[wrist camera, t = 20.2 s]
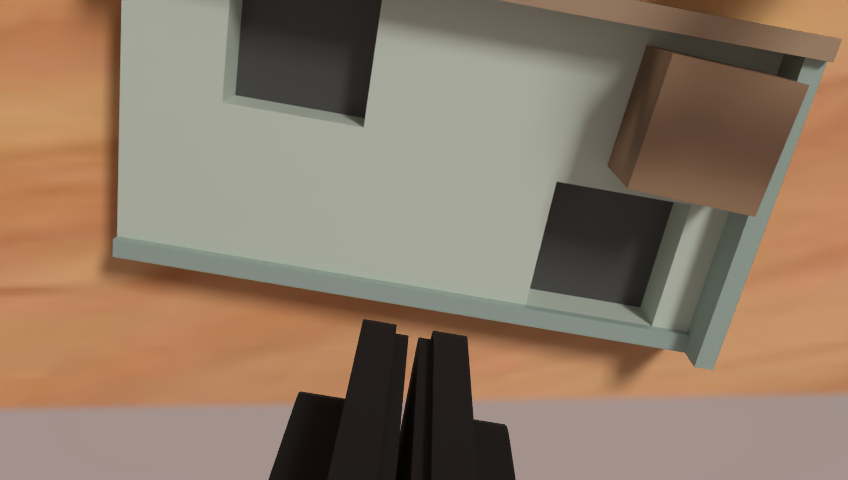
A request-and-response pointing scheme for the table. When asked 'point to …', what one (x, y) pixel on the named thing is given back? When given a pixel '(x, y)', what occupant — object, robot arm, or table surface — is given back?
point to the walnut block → (704, 130)
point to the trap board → (435, 157)
